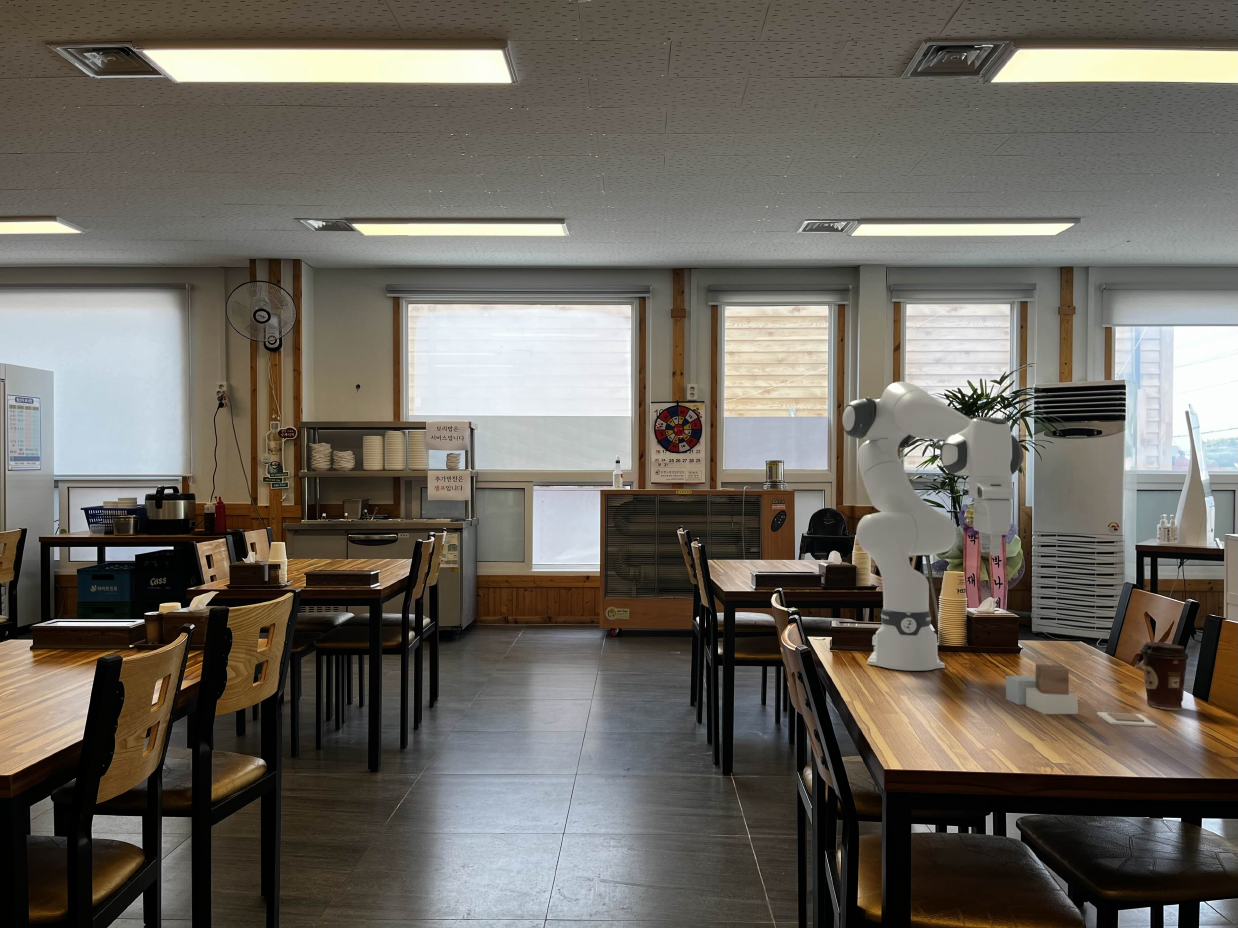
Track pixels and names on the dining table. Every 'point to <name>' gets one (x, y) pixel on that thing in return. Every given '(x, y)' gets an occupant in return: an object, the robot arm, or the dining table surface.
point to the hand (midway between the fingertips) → (989, 553)
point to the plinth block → (1051, 702)
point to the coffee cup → (1164, 674)
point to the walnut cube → (1052, 679)
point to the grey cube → (1018, 688)
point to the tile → (1126, 719)
